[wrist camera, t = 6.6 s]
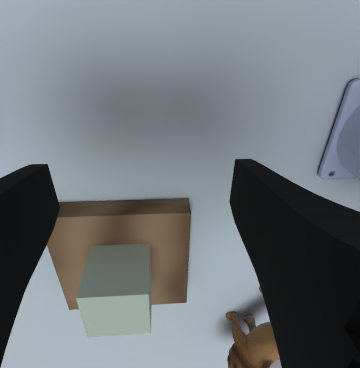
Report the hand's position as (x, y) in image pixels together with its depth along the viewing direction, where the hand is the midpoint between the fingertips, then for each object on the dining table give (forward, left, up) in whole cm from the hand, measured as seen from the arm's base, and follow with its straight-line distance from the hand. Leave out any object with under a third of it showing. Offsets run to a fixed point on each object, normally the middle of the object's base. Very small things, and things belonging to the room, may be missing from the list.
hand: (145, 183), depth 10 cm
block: (+3, +14, -8) cm, 16 cm away
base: (+3, +14, -10) cm, 17 cm away
